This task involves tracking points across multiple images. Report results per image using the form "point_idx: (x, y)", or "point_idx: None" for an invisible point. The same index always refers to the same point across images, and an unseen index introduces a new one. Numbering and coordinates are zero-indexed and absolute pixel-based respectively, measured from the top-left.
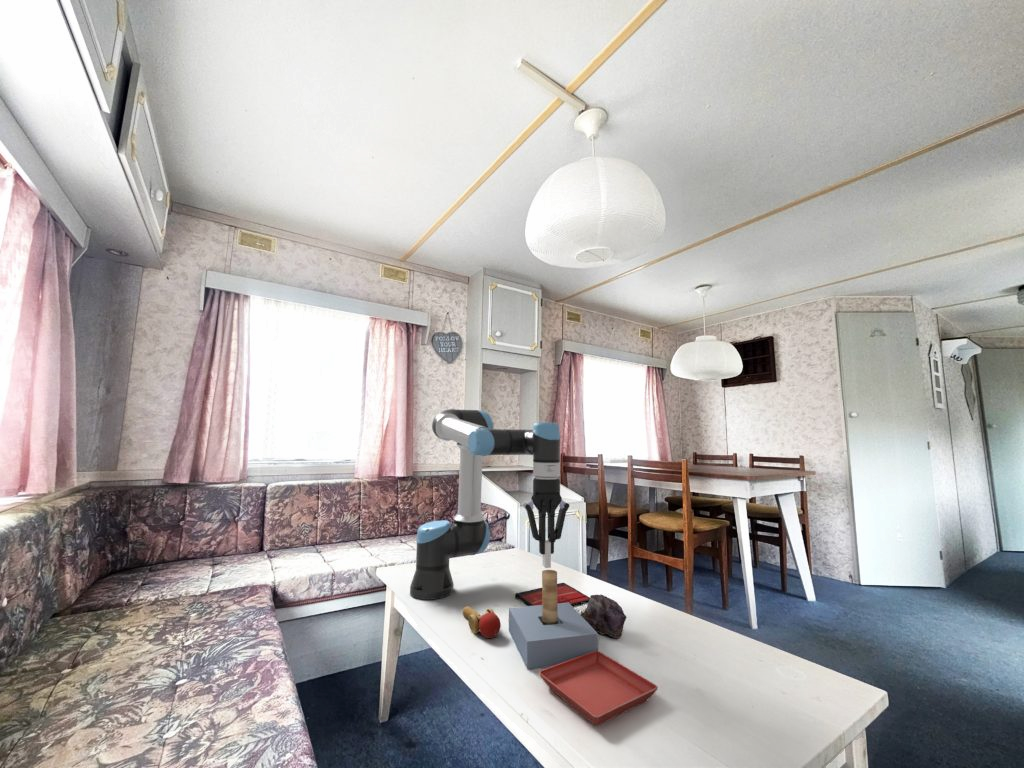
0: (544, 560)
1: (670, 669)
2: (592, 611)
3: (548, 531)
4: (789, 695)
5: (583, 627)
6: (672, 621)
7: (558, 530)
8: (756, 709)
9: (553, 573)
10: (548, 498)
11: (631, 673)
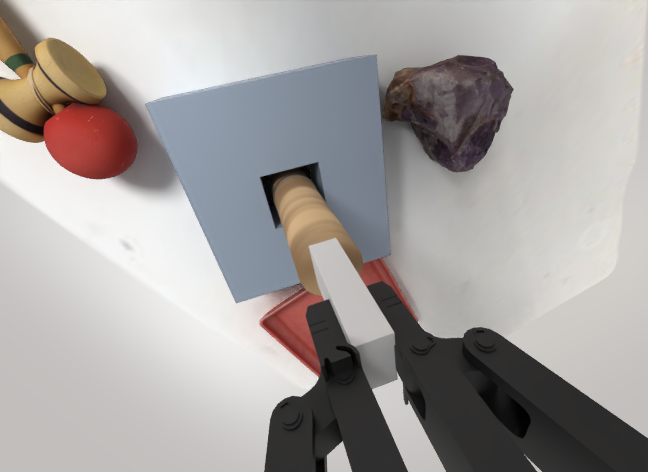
0: (323, 292)
1: (464, 244)
2: (426, 114)
3: (436, 422)
4: (547, 279)
5: (370, 231)
6: (596, 52)
7: (514, 438)
8: (496, 305)
9: None
10: None
11: (400, 296)
